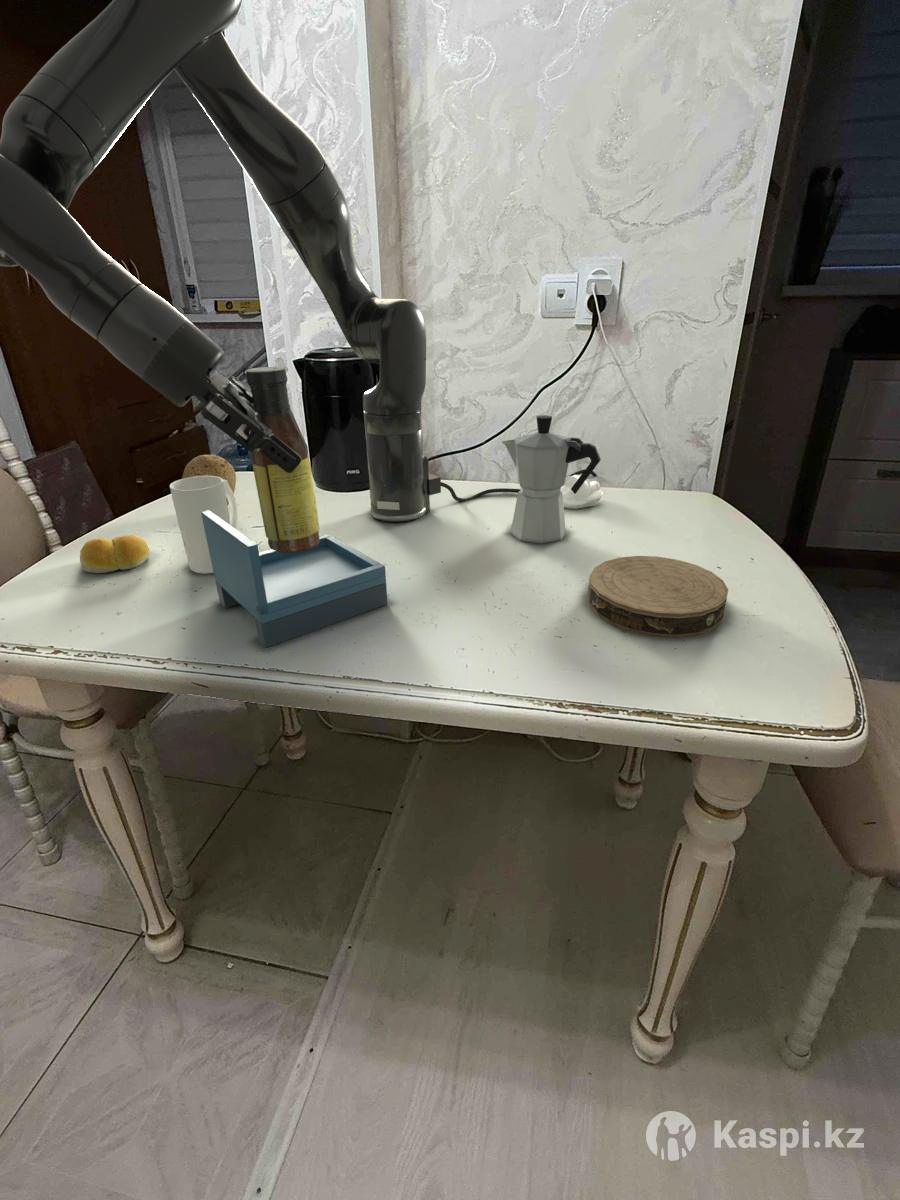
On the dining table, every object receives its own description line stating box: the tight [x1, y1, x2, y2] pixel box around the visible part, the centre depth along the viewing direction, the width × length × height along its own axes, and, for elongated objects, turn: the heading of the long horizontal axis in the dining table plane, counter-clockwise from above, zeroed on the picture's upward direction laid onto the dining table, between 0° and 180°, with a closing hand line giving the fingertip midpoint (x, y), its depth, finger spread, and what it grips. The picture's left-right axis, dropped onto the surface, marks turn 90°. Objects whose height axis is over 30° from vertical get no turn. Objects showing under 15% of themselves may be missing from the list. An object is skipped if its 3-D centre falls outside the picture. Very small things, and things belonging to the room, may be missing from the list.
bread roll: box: [79, 534, 151, 574], centre depth 89 cm, size 8×9×4 cm
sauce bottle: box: [245, 366, 320, 553], centre depth 69 cm, size 6×6×20 cm
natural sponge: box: [181, 454, 237, 507], centre depth 107 cm, size 9×9×10 cm
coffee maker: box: [500, 414, 602, 544], centre depth 93 cm, size 15×9×18 cm, turn 68°
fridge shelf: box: [201, 510, 389, 648], centre depth 75 cm, size 16×14×12 cm
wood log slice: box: [587, 555, 729, 638], centre depth 75 cm, size 16×16×3 cm
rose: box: [560, 474, 603, 510], centre depth 111 cm, size 10×4×10 cm
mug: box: [168, 476, 238, 575], centre depth 87 cm, size 10×7×12 cm, turn 159°
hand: (297, 458), depth 70 cm, fingers closed on sauce bottle, 6 cm apart
